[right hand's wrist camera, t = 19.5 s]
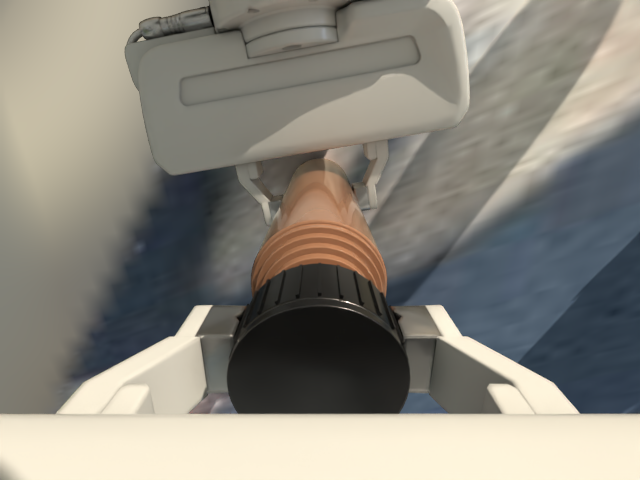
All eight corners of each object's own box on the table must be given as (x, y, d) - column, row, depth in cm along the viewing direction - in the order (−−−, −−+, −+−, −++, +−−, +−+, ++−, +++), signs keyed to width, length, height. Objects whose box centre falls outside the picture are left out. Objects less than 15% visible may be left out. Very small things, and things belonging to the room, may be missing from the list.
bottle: (341, 151, 28) (403, 256, 7) (354, 208, 30) (434, 426, 9) (283, 166, 29) (183, 306, 8) (299, 222, 31) (252, 460, 10)
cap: (223, 277, 10) (196, 324, 7) (381, 245, 9) (399, 284, 7) (266, 398, 11) (254, 465, 9) (403, 374, 11) (423, 438, 9)
